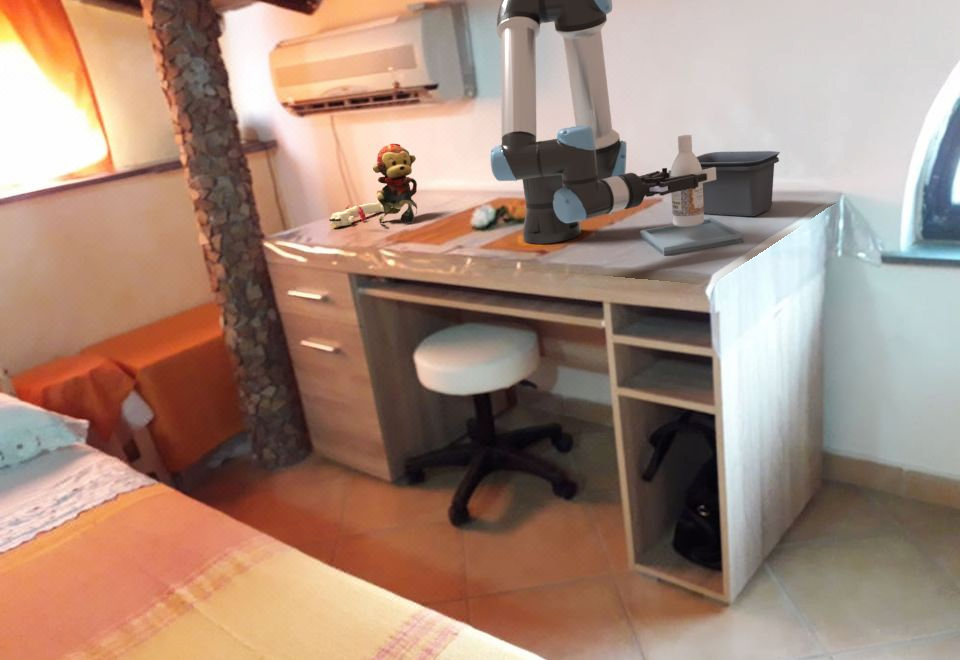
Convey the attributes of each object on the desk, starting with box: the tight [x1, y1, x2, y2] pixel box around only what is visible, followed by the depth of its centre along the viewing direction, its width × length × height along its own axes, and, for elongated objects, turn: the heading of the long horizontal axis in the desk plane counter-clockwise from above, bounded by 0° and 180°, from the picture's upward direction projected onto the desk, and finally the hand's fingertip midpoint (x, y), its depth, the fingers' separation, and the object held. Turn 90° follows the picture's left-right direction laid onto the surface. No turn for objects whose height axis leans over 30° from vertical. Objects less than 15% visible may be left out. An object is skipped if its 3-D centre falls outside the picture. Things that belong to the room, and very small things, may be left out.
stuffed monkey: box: [372, 143, 418, 224], centre depth 250 cm, size 15×17×25 cm
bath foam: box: [670, 134, 705, 227], centre depth 177 cm, size 7×7×20 cm
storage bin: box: [696, 150, 781, 217], centre depth 198 cm, size 21×16×14 cm
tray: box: [640, 217, 744, 256], centre depth 182 cm, size 18×18×2 cm
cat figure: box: [329, 190, 384, 229], centre depth 264 cm, size 10×9×25 cm
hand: (703, 172), depth 178 cm, fingers closed on bath foam, 7 cm apart
